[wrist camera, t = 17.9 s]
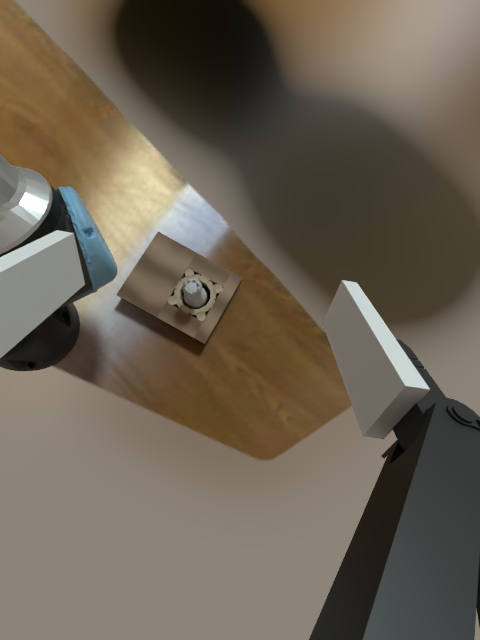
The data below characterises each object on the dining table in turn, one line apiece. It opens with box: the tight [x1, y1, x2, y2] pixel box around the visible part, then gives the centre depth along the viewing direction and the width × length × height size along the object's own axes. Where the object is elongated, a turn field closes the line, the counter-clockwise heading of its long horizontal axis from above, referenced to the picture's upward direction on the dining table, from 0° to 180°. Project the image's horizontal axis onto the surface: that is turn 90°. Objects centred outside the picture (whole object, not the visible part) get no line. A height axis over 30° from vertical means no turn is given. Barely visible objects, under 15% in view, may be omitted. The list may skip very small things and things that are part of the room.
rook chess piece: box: [182, 278, 208, 309], centre depth 45 cm, size 4×4×8 cm
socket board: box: [117, 232, 242, 345], centre depth 48 cm, size 14×18×2 cm
